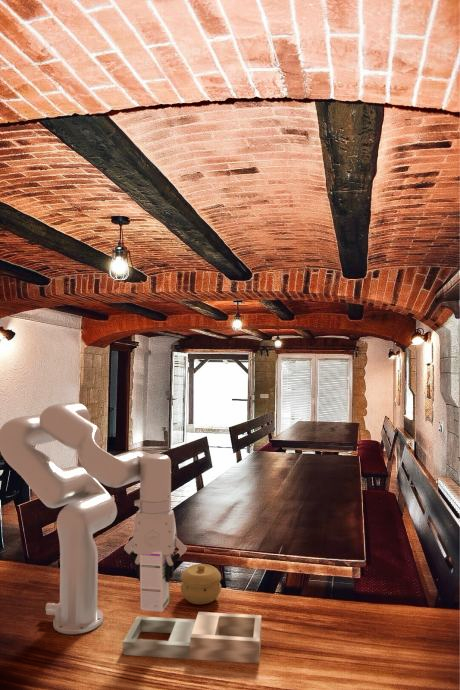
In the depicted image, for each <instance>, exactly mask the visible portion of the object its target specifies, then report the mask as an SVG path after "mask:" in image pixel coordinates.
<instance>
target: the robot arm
mask: <svg viewBox="0 0 460 690" xmlns="http://www.w3.org/2000/svg"><path fill="white" fill-rule="evenodd" d="M100 438H101V430H100V428H99V427H98V426H97V425H96V424H94V423H93V422H91V415H90V412H89V409H88V408H87V407H86V406H85V405H83V403H79V402H65V403H57V404H56V403H55V404H53V405H49V406H47V407H46V408H45V409H43V411H42V412H41V413H39V414H32V415H24V416H19V417H16V418H12V419H10V420H8V421H6V422H5V423H4V424H3V425H2V426H1V427H0V454H1V456H2V457H3V459H4V461H5V462H6V463H7V464H8V465H9V466H10V468H12V469H13V470H14V471H16V473H17V474H18V475H19V476H21V478H22V479H23V480H24V481H25V483H26V485H28V486H29V488H30V489H31V490H32V492H33V493H34V494H35V495H36V496H37V498H38V499H39V500H40V501H41V502H42V503H43V504H44V505H45V506H46V507H47V508H49V509H57V508H60V507H63V506H64V507H63V508H62V509H61V510H60V511H59V513H58V515H57V518H56V528H57V529H56V530H57V534H58V535H57V536H58V540H59V554H60V555H59V564H60V567H59V602H58V603H54V602H53V603H51V602H47V603H46V604H45V611H46V612H45V614H46V615H47V616H54V618H53V623H52V626H53V629H54V630H55V631H57V632H58V633H61V634H64V635H79V634H86V633H88V632H90V631H93V630H95V629H96V628H98V627H99V626H100V625H102V623H103V620H104V613H103V611H102V610H100V609H99V608H98V580H99V579H98V578H99V577H98V574H99V572H98V571H99V570H98V569H99V568H98V567H99V564H98V563H99V562H98V561H99V556H98V555H99V554H98V553H99V552H98V547H97V544H96V543H95V540H94V536H93V535H94V534H95V533H97V532H98V531H101V530H102V529H104V528H107V527H108V526H110V525H111V524H112V523H113V522H114V521H115V519H116V517H117V515H118V508H117V503H116V501H115V500H114V498H113V496H111V494H110V493H109V492H108V490H106V488H105V487H104V486H107V487H110V488H114V489H115V488H121V487H123V486H126V485H129V484H131V483H134V482H138V481H139V483H140V485H139V486H140V487H139V499H136V500H134V502H133V503H134V506H135V507H138V511H136V514H135V518H134V519H135V520H134V527H133V537H132V538H131V539H130V540H129V541H128V542H127V543H126V544H125V545H124V547H123V549H124V551H125V552H126V553H127V554H128V555H129V556H130V558H131V559H132V560H133V562H134V563H135V565H136V576H137V577H138V582H140V555H151V553H152V552H157V551H161V552H162V556H165V557H166V560H167V566H166V582H169V581H171V579H172V578H174V572H175V571H174V570H175V568H174V566H175V565H174V564H175V563H176V562H177V561H178V560H179V559H180V558H181V556H182V555H184V554H185V553H186V551H187V546H186V545H185V544H184V543H183V541H181V540H180V539H179V538H178V536H177V527H176V526H177V524H176V518H175V513H174V510H173V509H172V498H171V497H172V460H171V458H170V456H169V455H167V454H163V453H149V452H147V451H146V452H145V451H142V450H137V449H136V450H130V451H127V452H123V453H120V454H116V455H113V454H111V453H110V452H107V451H106V450H104V449H103V448H101V447H100V446H99V445H98V444H99V442H100V440H101V439H100ZM55 441H57V442H59V443H61V444H62V445H64V446H65V447H67V448H68V449H70V450H72V451H73V452H74V453H76V454H77V457H78V461H79V463H80V465H81V466H78V465H77V466H75V465H74V466H70V467H66V468H60V467H58V466H57V465H56V464H55V462H54V461H53V460H52V459H51V458H50V456H49V455H48V454H46V453H44V452H43V451H40V450H38V449H36V448H35V446H37V445H38V446H39V445H43V444H47V443H51V442H55ZM33 446H34V447H33ZM102 484H103V485H104V486H103V485H102ZM176 548H177V549H178V551H176V552H175V549H176ZM174 552H175V553H174Z"/></svg>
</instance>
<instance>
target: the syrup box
mask: <svg viewBox="0 0 460 690" xmlns="http://www.w3.org/2000/svg"><path fill="white" fill-rule="evenodd" d="M166 566H167V560H166V557H165V556H162V552H161V551H157V552H152V553H151V555H140V581H139V584H140V585H139V586H140V587H139V591H140V592H139V597H140V599H139V600H140V607H139V608H140V610H141V611H145V612H146V611H147V612H155V613H157V612H158V613H162V612H164V610H165V609H166V607H167V606H168V604H169V603H170V601H171V590H170V589H171V584H170V581H171V580H170V581H169V582H166Z"/></svg>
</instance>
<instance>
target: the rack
mask: <svg viewBox="0 0 460 690" xmlns="http://www.w3.org/2000/svg"><path fill="white" fill-rule="evenodd" d="M141 632H144V633H145V632H147V633H148V632H149V633H164V634H165V633H166V634H170V636H169V638H168V640H158V639H143V638H140V639H139V636H140V635H141ZM261 645H262V615H261V614H248V613H247V614H245V613H244V614H243V613H242V614H241V613H229V612H228V613H226V612H209V611H198V613H197V616H196V618H194V619H193V618H192V619H191V618H175V617H174V618H173V617H157V616H155V617H154V616H142V615H137V616H136V618H135V619H134V621H133V623H132V625H131V627H130V628H129V630H128V632H127V634H126V636H125V637H124V639H123V641H122V655H123V654H124V656H135V657H137V656H138V657H139V656H140V657H150V658H151V657H152V658H153V657H155V658H165V659H166V658H169V659H182V660H183V659H185V660H198V661H199V660H200V661H212V662H213V661H215V662H230V663H246V664H256V665H257V664H260V661H261V660H260V656H261Z"/></svg>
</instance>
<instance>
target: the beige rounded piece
mask: <svg viewBox="0 0 460 690" xmlns="http://www.w3.org/2000/svg"><path fill="white" fill-rule="evenodd" d="M221 580H222V574H221V572H220V571H219V570H218V568H217V567H215V566H213V565H211V564H207V563H197V564H192V565H190V566H188V567H187V568H185V569H184V570H183V571H182V573H181V575H180V581H181V585H180V592H181V594H182V596H183V598H184V599H185V600H186V601H188V602H189V603H191V604H192V605H206V604H207V605H208V604H210V603H212V602H213V601H215V600H217V597H218V596H219V595H220V593H221V591H222V584H221V583H220V582H221Z"/></svg>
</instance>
